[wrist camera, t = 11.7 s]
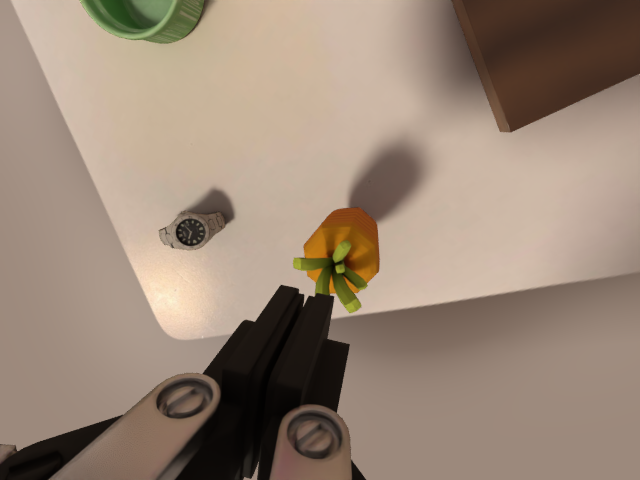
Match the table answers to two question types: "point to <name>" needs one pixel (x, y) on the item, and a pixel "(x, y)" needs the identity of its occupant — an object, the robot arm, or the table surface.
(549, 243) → the table surface
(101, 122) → the table surface
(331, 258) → the carrot
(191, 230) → the wristwatch
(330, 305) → the robot arm
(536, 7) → the cutting board
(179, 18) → the ramekin
